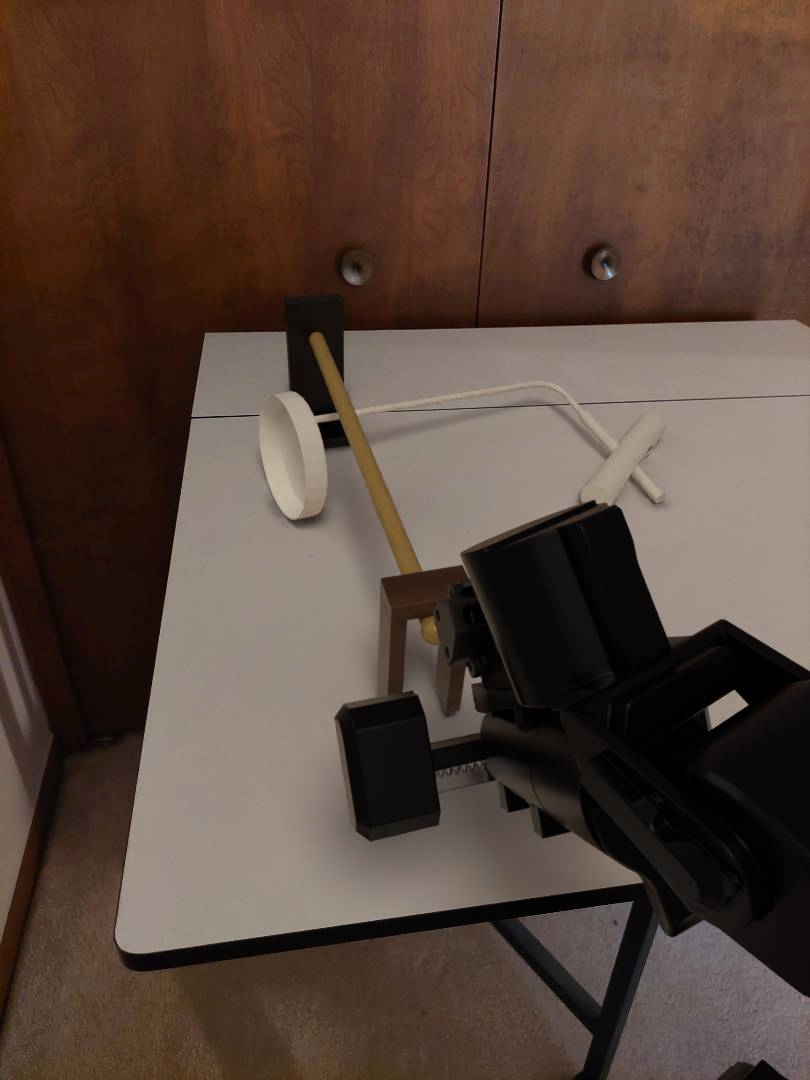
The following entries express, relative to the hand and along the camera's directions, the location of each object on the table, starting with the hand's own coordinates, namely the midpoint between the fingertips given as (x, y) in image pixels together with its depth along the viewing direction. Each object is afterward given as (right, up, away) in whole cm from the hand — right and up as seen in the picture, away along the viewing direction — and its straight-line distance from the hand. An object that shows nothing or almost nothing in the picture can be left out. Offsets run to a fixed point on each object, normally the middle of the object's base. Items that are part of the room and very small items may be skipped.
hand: (476, 710), depth 48 cm
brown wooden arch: (-3, -3, +15) cm, 16 cm away
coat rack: (-9, +10, +31) cm, 34 cm away
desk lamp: (+5, +17, +40) cm, 43 cm away
